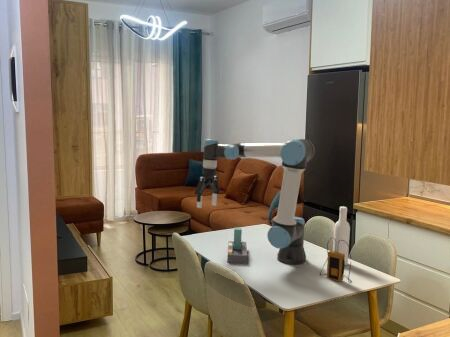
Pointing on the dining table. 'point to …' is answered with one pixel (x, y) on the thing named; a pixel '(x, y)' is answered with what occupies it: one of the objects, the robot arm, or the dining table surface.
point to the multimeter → (335, 264)
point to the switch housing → (237, 253)
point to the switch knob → (237, 238)
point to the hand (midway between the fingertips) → (206, 206)
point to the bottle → (342, 234)
